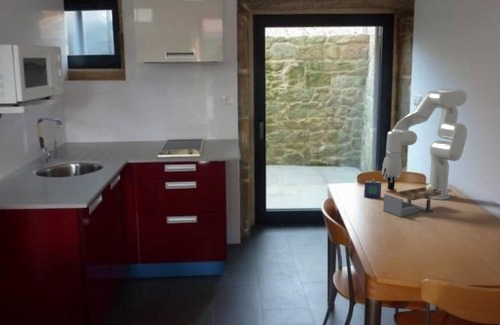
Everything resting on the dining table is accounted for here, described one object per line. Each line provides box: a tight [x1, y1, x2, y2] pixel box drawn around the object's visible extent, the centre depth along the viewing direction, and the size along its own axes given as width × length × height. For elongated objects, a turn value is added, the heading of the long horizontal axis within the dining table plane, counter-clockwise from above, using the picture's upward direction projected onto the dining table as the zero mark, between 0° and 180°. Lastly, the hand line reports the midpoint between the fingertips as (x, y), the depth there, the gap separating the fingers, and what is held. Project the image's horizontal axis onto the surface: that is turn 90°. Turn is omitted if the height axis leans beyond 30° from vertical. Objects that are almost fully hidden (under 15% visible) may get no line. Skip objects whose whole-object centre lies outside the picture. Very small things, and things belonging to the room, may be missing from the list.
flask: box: [363, 178, 382, 199], centre depth 290 cm, size 9×3×11 cm, turn 88°
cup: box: [382, 193, 419, 218], centre depth 263 cm, size 12×12×9 cm
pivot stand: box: [406, 199, 433, 214], centre depth 270 cm, size 4×15×6 cm, turn 31°
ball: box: [425, 184, 434, 192], centre depth 273 cm, size 4×4×4 cm
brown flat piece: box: [385, 186, 441, 201], centre depth 272 cm, size 21×21×3 cm
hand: (390, 189), depth 274 cm, fingers closed
